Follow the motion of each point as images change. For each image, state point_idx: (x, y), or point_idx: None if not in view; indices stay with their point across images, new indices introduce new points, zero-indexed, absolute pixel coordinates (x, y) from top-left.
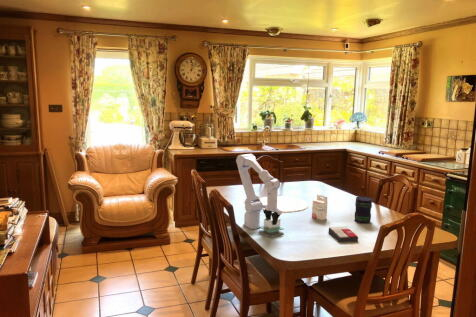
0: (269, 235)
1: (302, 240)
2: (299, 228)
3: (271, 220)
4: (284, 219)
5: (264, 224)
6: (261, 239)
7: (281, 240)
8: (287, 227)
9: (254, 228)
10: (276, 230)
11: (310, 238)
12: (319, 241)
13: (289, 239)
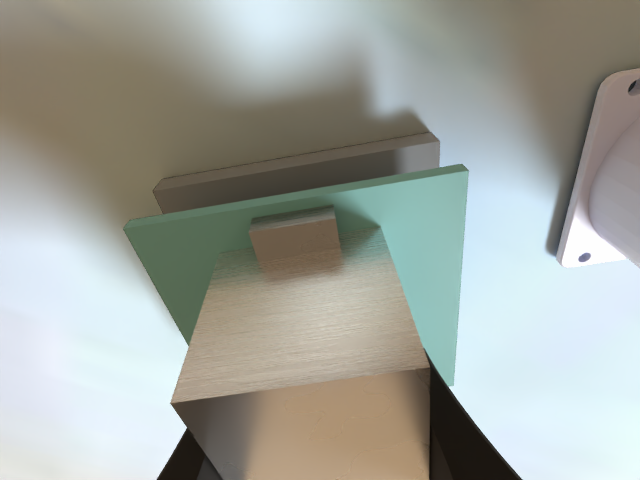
0: (177, 195)
1: (45, 411)
2: None
3: (234, 449)
4: (561, 465)
5: (369, 268)
6: (101, 3)
7: (45, 266)
8: None
9: (593, 131)
10: (184, 331)
11: (94, 459)
12: (22, 476)
13: (77, 342)
